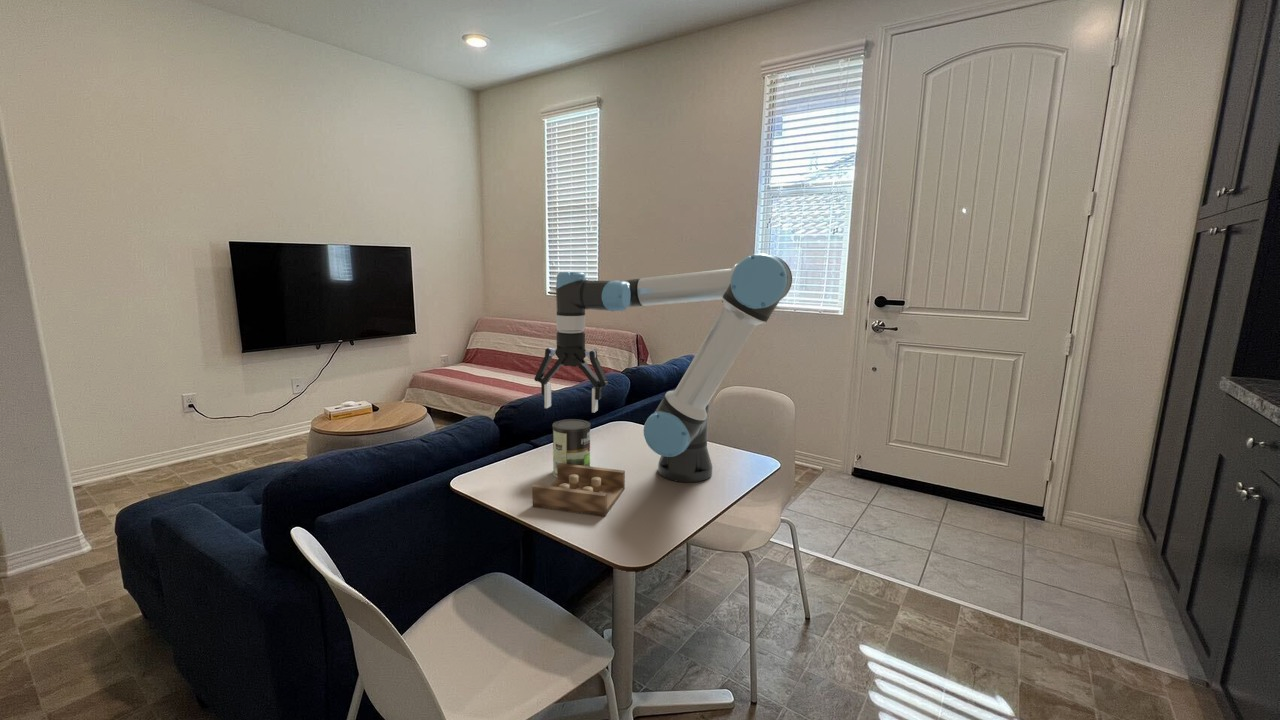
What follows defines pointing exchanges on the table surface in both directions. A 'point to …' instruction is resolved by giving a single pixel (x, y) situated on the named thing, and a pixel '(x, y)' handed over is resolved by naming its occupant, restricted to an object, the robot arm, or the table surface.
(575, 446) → the coffee can
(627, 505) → the table surface
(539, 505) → the wooden tray
